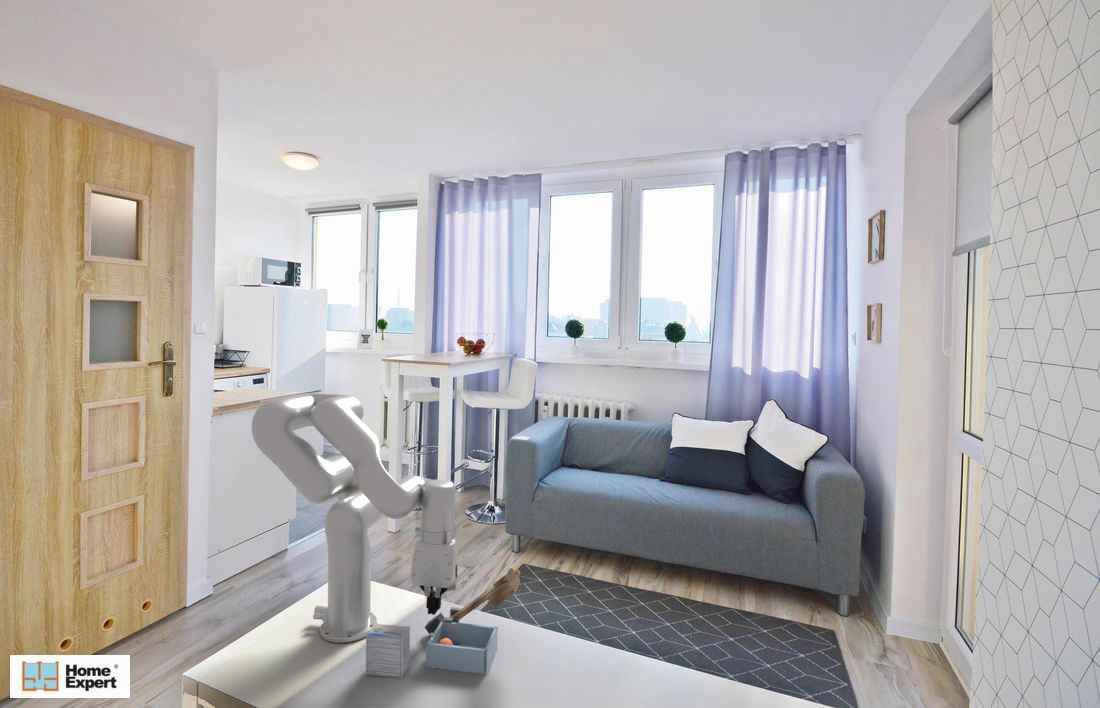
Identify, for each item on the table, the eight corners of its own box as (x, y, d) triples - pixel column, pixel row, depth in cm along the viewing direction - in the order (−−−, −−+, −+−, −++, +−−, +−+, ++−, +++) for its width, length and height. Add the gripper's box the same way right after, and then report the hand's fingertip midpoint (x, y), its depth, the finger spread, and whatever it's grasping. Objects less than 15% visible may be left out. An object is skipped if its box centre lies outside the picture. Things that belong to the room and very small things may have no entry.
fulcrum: (433, 644, 119) (434, 620, 119) (444, 627, 126) (444, 604, 126) (459, 647, 118) (459, 623, 118) (468, 630, 125) (468, 607, 125)
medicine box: (410, 665, 112) (410, 625, 111) (402, 679, 107) (402, 637, 107) (374, 662, 112) (375, 622, 112) (365, 675, 108) (365, 634, 108)
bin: (426, 667, 111) (426, 644, 111) (441, 642, 120) (441, 621, 120) (486, 674, 109) (487, 650, 109) (497, 648, 118) (497, 626, 118)
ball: (451, 646, 113) (447, 659, 113) (456, 637, 116) (452, 651, 117) (437, 641, 114) (434, 654, 114) (442, 633, 117) (439, 646, 117)
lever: (417, 662, 113) (408, 649, 113) (436, 633, 124) (427, 621, 124) (515, 593, 109) (505, 580, 109) (525, 569, 120) (516, 557, 121)
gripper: (399, 537, 119) (396, 615, 120) (463, 544, 117) (459, 624, 118) (413, 525, 127) (409, 599, 127) (472, 532, 125) (468, 607, 125)
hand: (433, 611), depth 123 cm, fingers closed
